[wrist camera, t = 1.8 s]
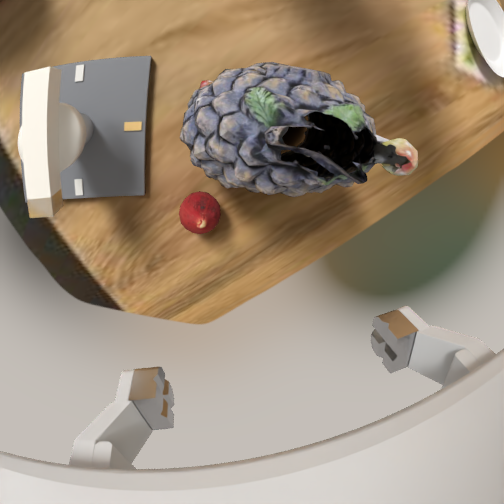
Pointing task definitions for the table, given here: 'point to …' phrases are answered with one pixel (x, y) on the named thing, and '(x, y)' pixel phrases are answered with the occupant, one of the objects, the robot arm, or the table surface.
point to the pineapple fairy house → (276, 125)
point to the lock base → (106, 126)
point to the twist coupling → (47, 140)
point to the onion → (199, 212)
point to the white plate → (487, 31)
